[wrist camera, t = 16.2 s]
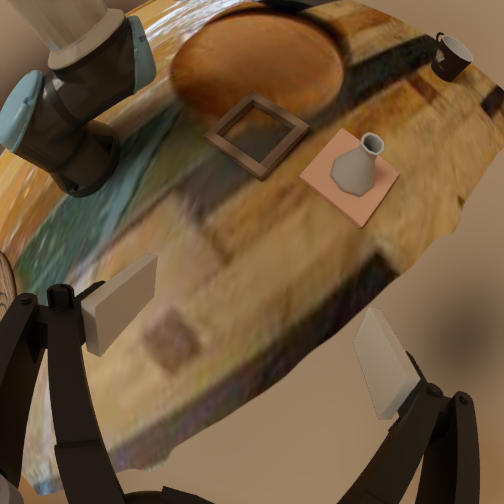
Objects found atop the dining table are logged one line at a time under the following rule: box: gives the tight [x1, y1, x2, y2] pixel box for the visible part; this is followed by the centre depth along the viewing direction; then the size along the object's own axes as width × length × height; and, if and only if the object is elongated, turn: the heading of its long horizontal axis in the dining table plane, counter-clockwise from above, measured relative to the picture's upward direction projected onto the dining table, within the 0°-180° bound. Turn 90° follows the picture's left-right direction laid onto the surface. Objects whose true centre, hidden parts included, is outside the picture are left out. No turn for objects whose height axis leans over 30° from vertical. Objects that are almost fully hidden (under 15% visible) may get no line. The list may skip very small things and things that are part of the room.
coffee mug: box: [431, 32, 473, 82], centre depth 37 cm, size 12×9×10 cm
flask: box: [330, 132, 385, 197], centre depth 34 cm, size 7×7×10 cm
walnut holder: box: [203, 91, 309, 182], centre depth 41 cm, size 12×12×2 cm
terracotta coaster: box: [298, 128, 399, 229], centre depth 40 cm, size 12×12×1 cm
